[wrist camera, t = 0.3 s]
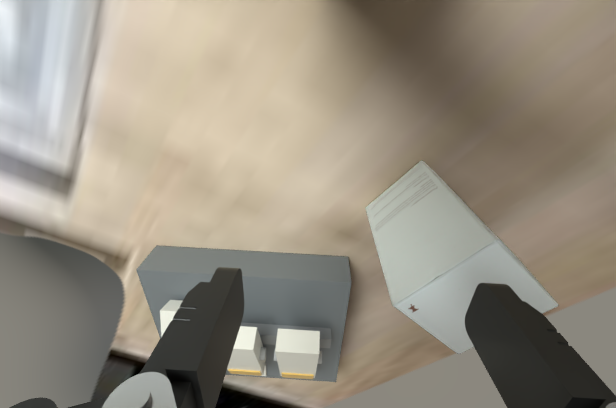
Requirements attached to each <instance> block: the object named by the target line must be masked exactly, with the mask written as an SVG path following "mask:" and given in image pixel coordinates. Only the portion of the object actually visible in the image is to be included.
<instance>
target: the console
mask: <svg viewBox="0 0 616 408" xmlns="http://www.w3.org/2000/svg"><path fill="white" fill-rule="evenodd" d="M218 267H226V268H240V269H241V271H242V279H243V291H244V314H243V319H242V322H241V325H240V326H246V327H257V329H258V332H259V335H260V338H261V341H262V344H263V347H266V361H265V368H264V375H262V376H257V375H242V374H231V373H230V372H229V371H228V370H226V374H225V375H239V376H254V377H269V378H284V379H299V380H314V381H329V382H336V378H337V372H338V365H339V359H340V353H341V346H342V340H343V334H344V327H345V321H346V314H347V308H348V302H349V295H350V289H351V275H350V267H349V259H348V257H344V256H327V255H310V254H293V253H276V252H258V251H241V250H224V249H207V248H189V247H172V246H156V247H155V248H154V249H153V250H152V252H151V253H150V254H149V255H148V256H147V258H146V259H145V260H144V261H143V262H142V264H141V265H140V266H139V267H138V268H137V273H138V276H139V279H140V282H141V284H142V287H143V290H144V293H145V296H146V299H147V302H148V304H149V307H150V310H151V313H152V316H153V319H154V322H155V324H156V327H157V330H158V333H159V336H160V339H161V321H160V310H161V309H162V308H163V307H164V306H165V305H166V304H167V303H168V301H169V300H182V301H183V300H184V298H185V296H186V295H187V293H188V292H189V291H190V290H191V289H193V288H194V287H195V286H196V285H197V284H198V283H200V282H210V281H211V279H212V277H213V275H214V273H215V271H216V269H217V268H218ZM278 329H294V330H310V331H320V344H319V351H322V364H317V369H316V374H315V378H313V379H302V378H287V377H282V376H280V371H279V367H278V362H277V361H274V351H275V348H276V340H277V332H278Z"/></svg>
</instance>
